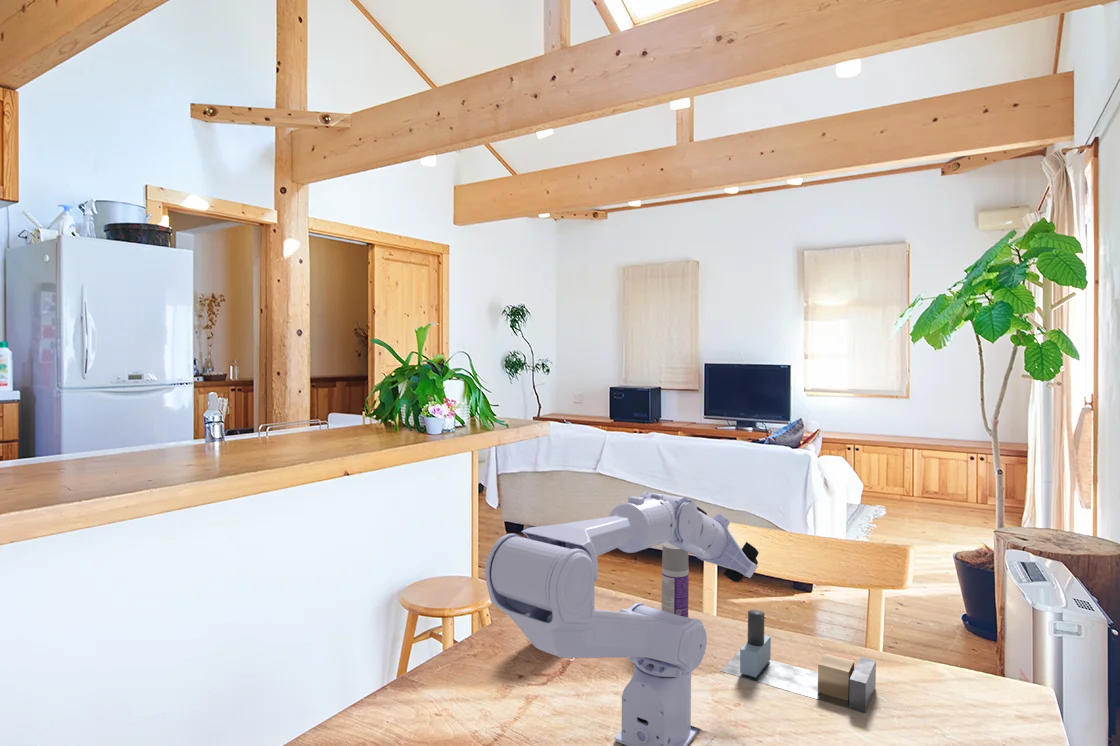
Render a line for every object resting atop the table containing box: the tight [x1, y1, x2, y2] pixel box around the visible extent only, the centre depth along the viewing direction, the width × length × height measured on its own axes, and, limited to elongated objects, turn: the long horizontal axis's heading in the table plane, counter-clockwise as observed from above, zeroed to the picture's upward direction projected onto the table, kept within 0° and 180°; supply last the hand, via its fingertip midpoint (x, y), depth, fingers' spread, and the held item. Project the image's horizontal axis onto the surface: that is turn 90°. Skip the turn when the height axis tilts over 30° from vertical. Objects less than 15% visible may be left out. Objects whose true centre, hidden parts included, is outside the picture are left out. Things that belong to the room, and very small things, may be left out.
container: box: [661, 541, 690, 618], centre depth 115 cm, size 5×5×15 cm
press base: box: [720, 650, 877, 714], centre depth 95 cm, size 8×20×5 cm, turn 55°
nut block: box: [817, 653, 855, 701], centre depth 92 cm, size 4×4×4 cm
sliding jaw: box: [739, 609, 772, 677], centre depth 99 cm, size 7×2×8 cm, turn 145°
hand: (732, 551), depth 100 cm, fingers open, 7 cm apart
